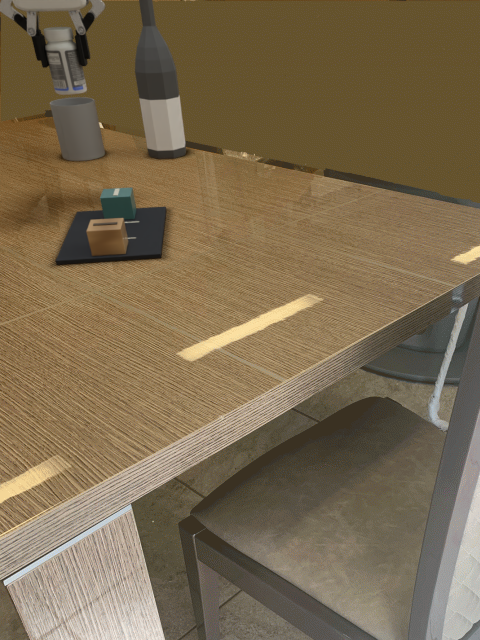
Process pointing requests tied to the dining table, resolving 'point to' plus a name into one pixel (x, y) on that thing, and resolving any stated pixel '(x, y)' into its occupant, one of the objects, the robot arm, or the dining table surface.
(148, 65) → the wine bottle
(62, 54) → the pill bottle
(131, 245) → the mat
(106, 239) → the maple block
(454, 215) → the dining table surface
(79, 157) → the cup
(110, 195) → the teal block
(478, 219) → the dining table surface
